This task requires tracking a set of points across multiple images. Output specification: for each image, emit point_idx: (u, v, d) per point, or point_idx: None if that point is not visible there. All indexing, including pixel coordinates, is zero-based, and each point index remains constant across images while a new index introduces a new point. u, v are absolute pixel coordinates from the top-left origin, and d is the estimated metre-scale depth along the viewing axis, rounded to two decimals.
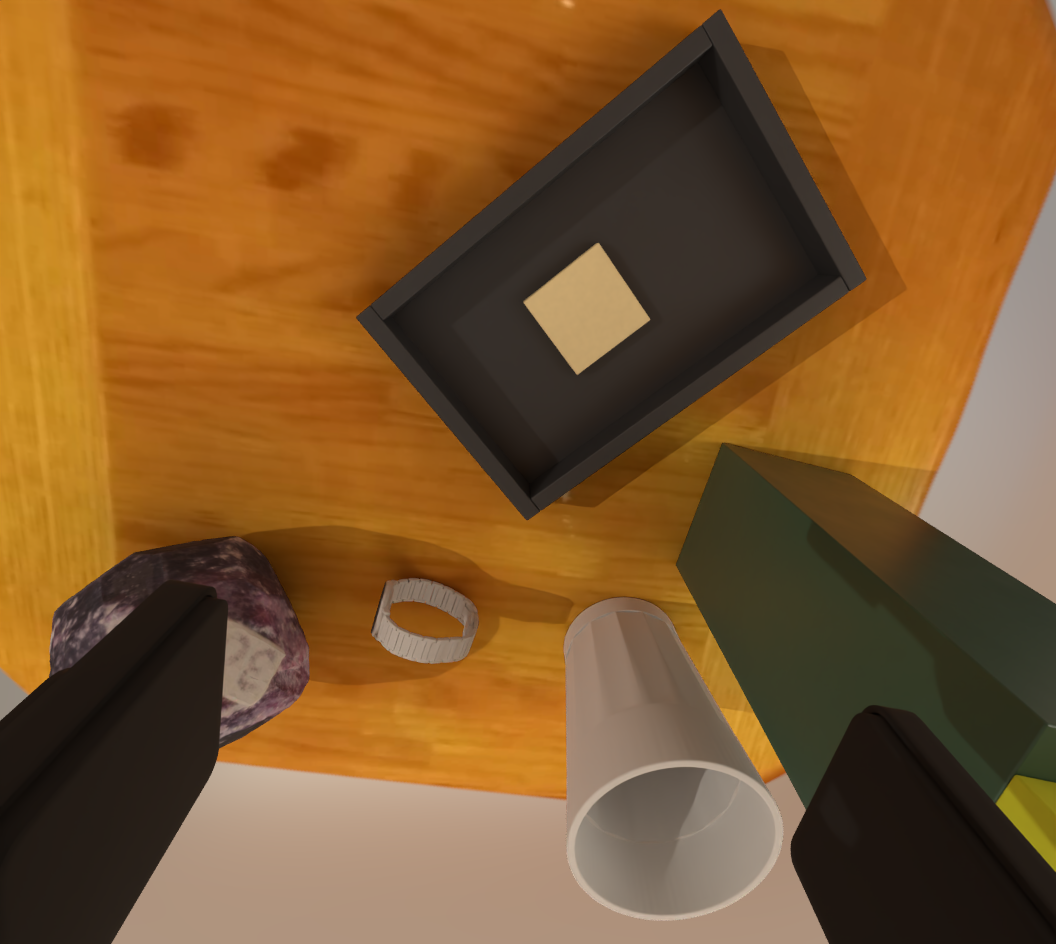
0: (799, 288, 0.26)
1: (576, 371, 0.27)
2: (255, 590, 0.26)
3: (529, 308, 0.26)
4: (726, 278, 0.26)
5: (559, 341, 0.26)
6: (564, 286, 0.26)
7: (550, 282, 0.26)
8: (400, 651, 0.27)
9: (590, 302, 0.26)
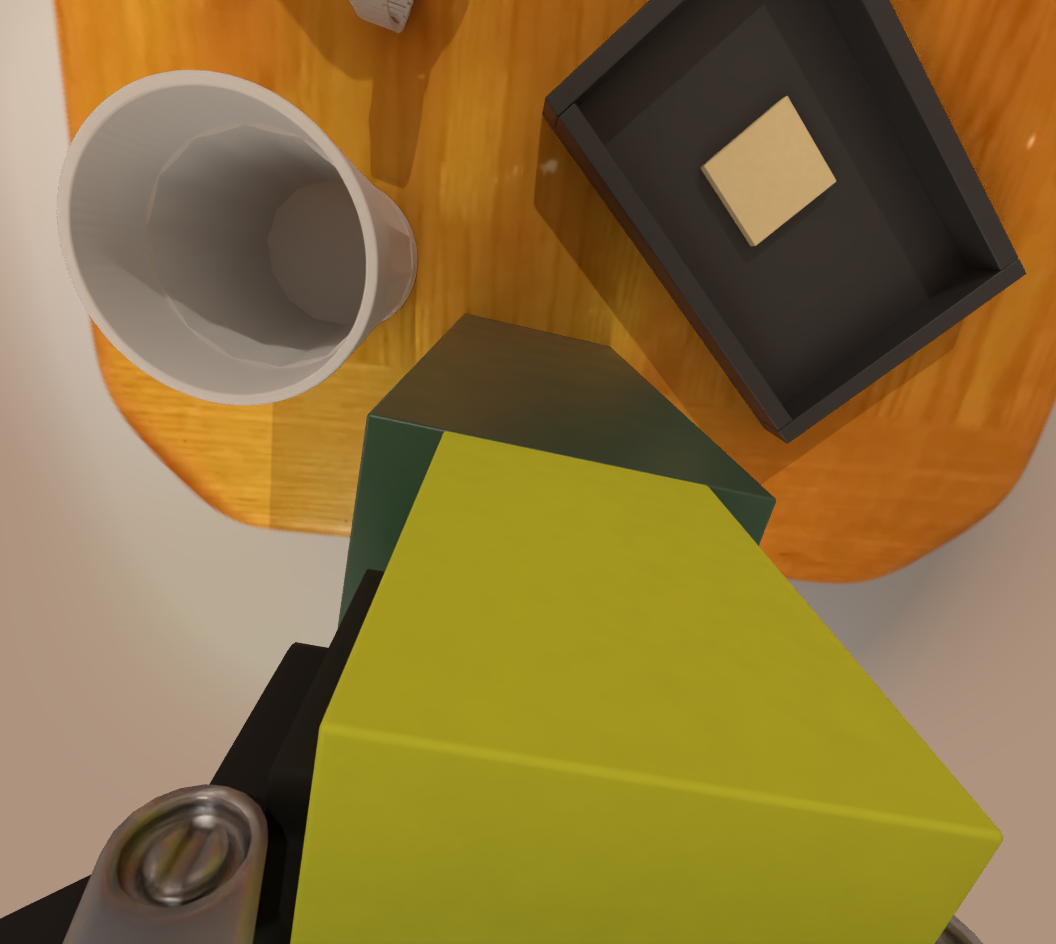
0: None
1: (708, 164, 0.24)
2: None
3: (780, 103, 0.24)
4: (781, 324, 0.27)
5: (741, 142, 0.24)
6: (798, 144, 0.24)
7: (804, 127, 0.24)
8: None
9: (779, 176, 0.25)
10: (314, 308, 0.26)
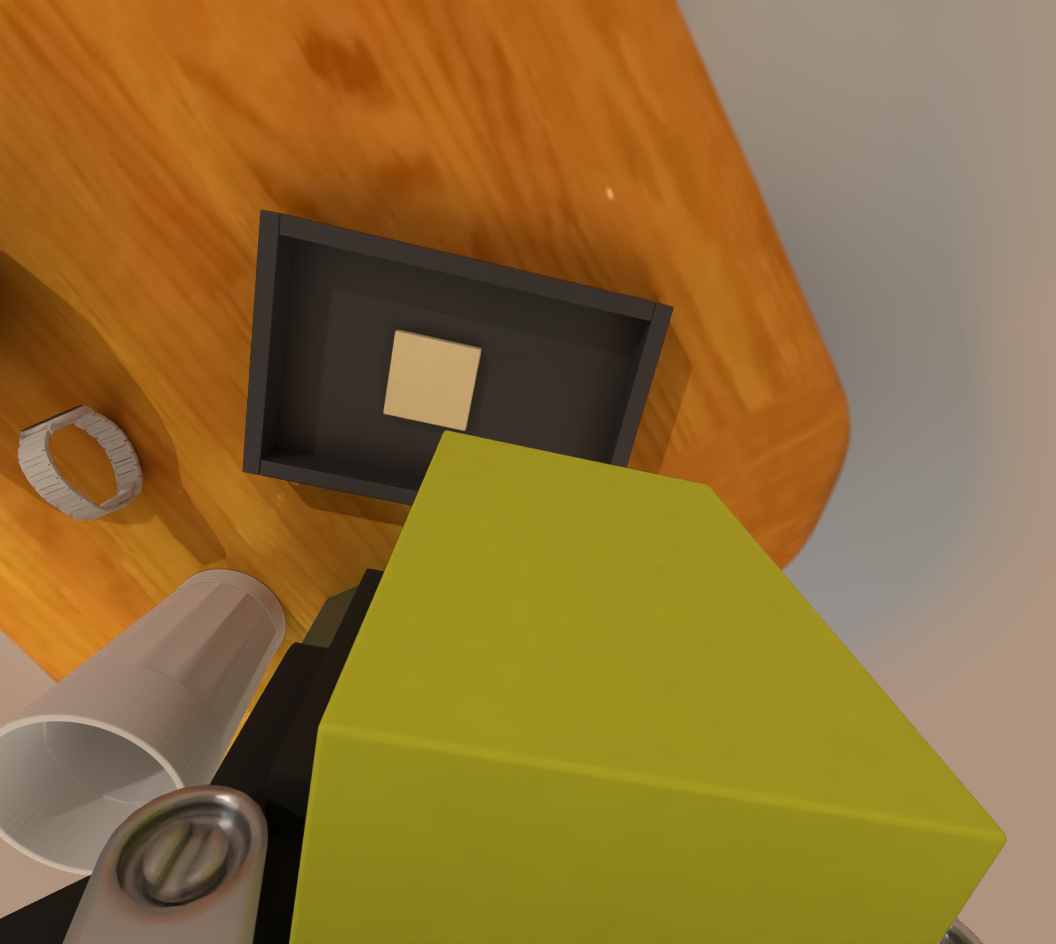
0: None
1: (385, 411, 0.28)
2: None
3: (395, 338, 0.27)
4: None
5: (393, 381, 0.28)
6: (432, 351, 0.28)
7: (426, 338, 0.27)
8: (28, 469, 0.25)
9: (438, 379, 0.28)
10: None
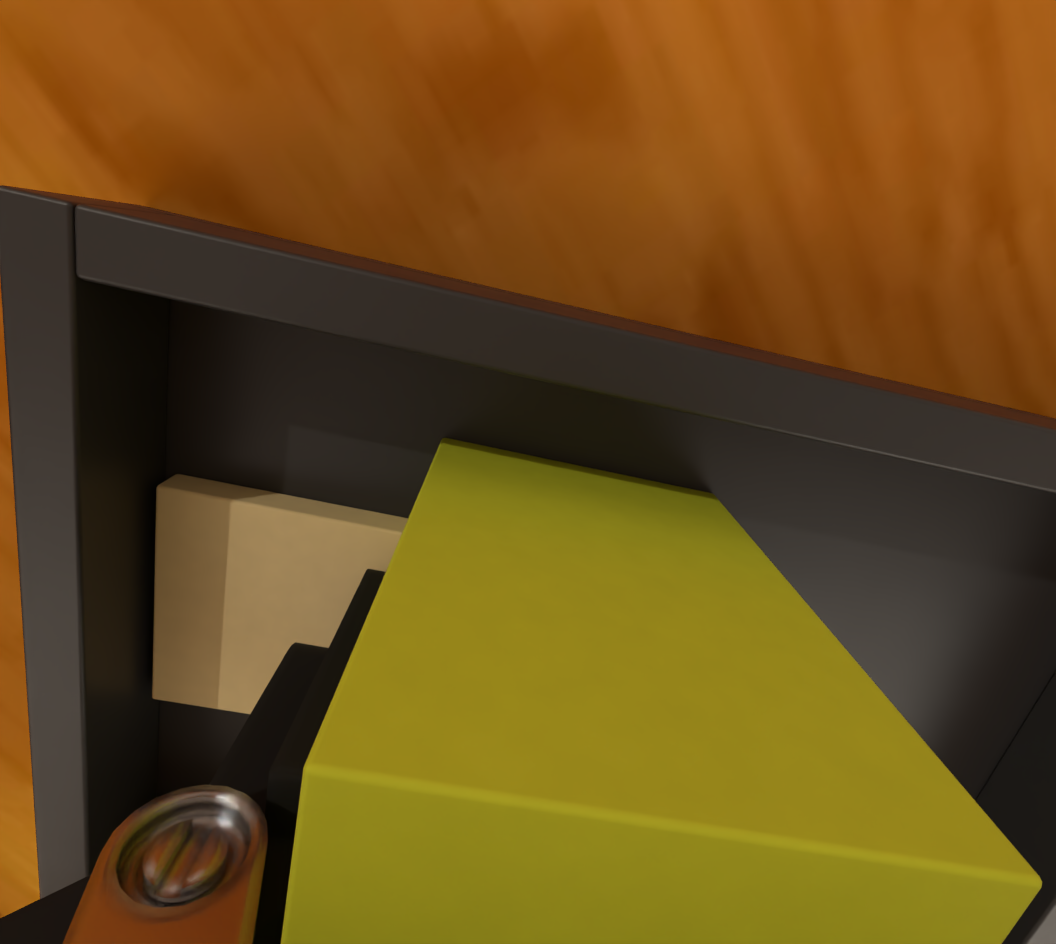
0: None
1: (155, 693, 0.10)
2: None
3: (159, 508, 0.09)
4: None
5: (168, 619, 0.10)
6: (275, 541, 0.09)
7: (253, 507, 0.09)
8: None
9: (299, 613, 0.10)
10: None
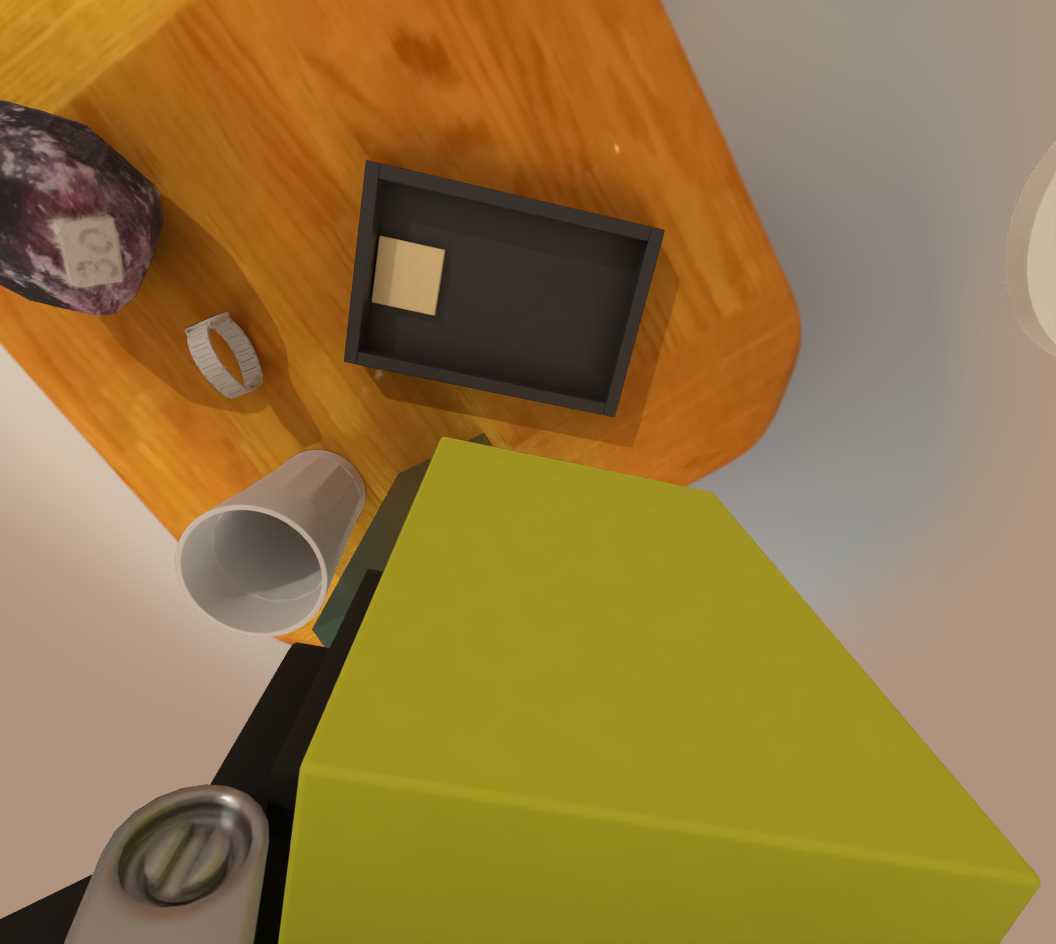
0: (588, 394, 0.40)
1: (372, 299, 0.37)
2: (144, 228, 0.33)
3: (379, 242, 0.36)
4: (562, 352, 0.39)
5: (378, 275, 0.37)
6: (407, 251, 0.37)
7: (402, 241, 0.36)
8: (195, 352, 0.35)
9: (412, 273, 0.37)
10: None
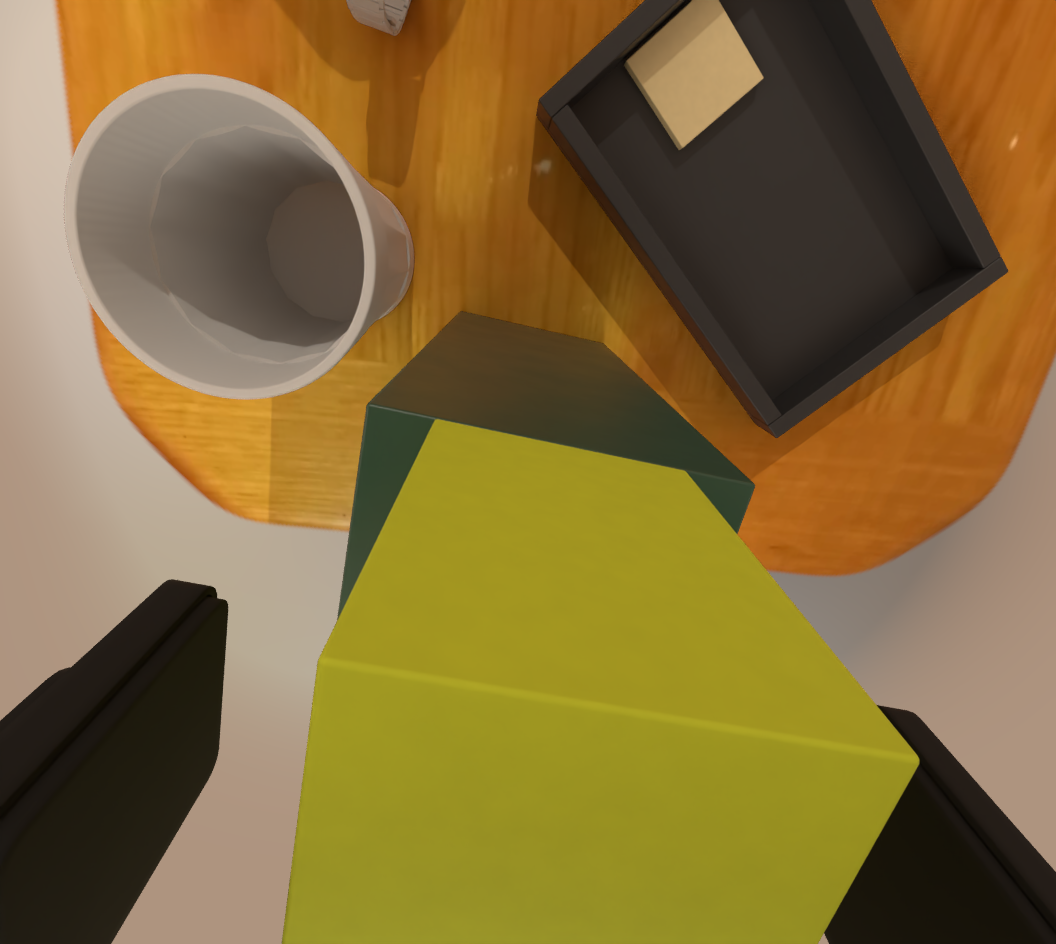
0: None
1: (630, 59, 0.24)
2: None
3: None
4: (770, 321, 0.28)
5: (664, 35, 0.23)
6: (723, 38, 0.23)
7: (728, 19, 0.23)
8: None
9: (704, 71, 0.24)
10: (312, 305, 0.26)
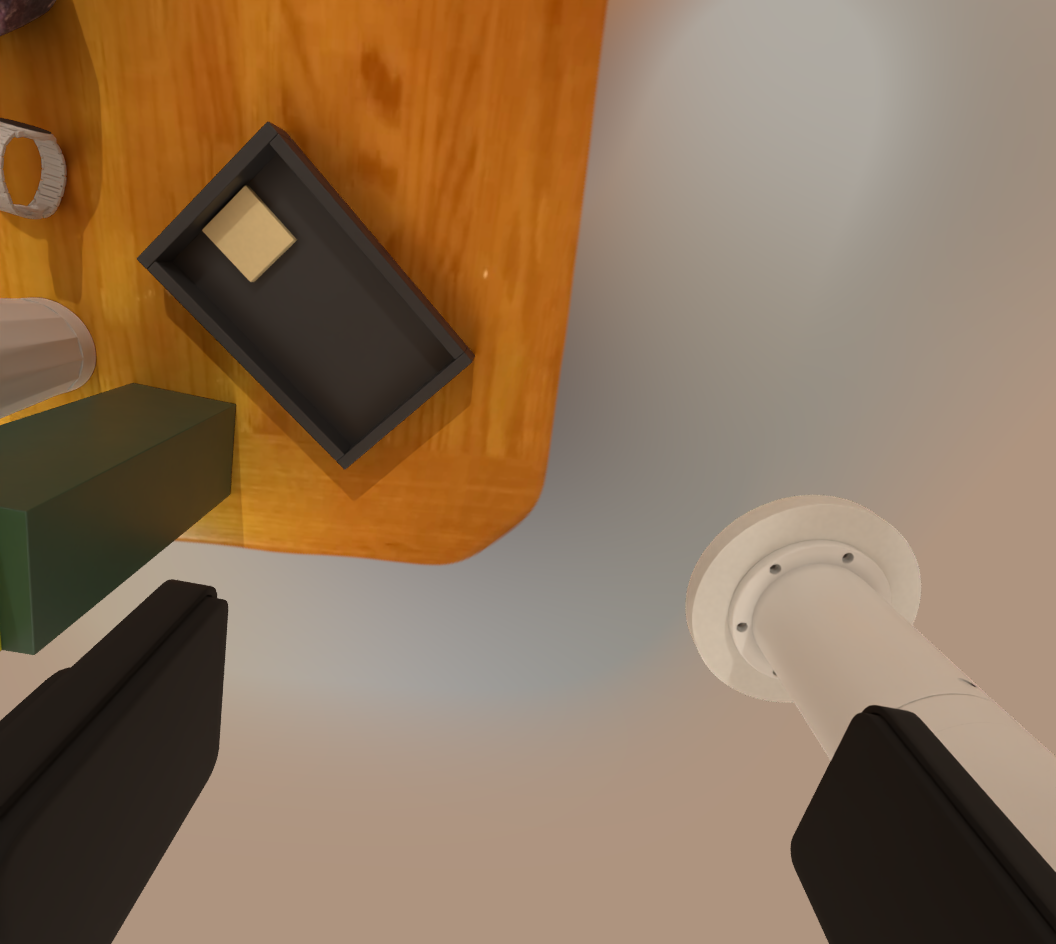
0: (342, 436, 0.42)
1: (203, 229, 0.37)
2: (4, 7, 0.30)
3: (241, 190, 0.36)
4: (342, 389, 0.41)
5: (222, 214, 0.37)
6: (261, 216, 0.37)
7: (262, 205, 0.36)
8: None
9: (253, 236, 0.37)
10: None
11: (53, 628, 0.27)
